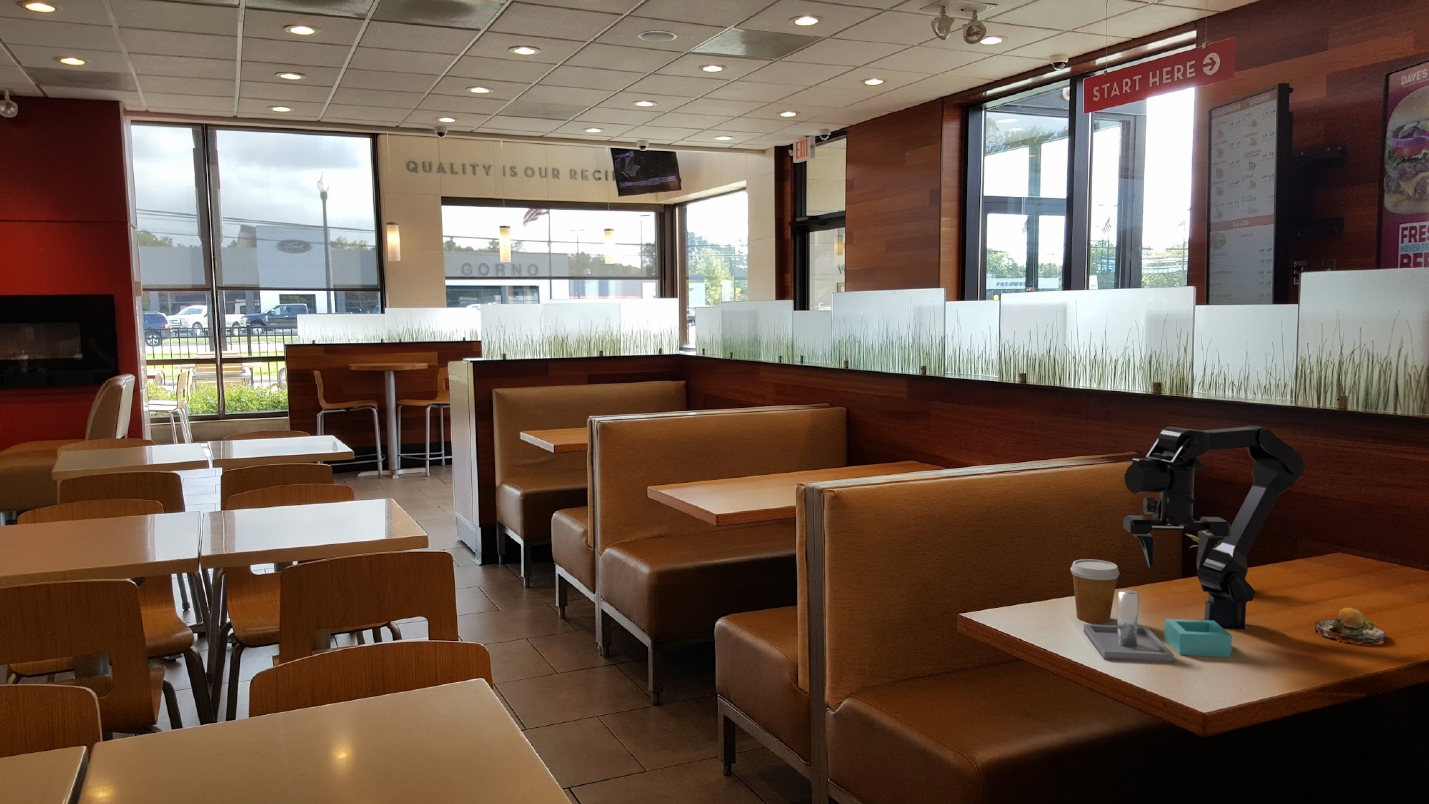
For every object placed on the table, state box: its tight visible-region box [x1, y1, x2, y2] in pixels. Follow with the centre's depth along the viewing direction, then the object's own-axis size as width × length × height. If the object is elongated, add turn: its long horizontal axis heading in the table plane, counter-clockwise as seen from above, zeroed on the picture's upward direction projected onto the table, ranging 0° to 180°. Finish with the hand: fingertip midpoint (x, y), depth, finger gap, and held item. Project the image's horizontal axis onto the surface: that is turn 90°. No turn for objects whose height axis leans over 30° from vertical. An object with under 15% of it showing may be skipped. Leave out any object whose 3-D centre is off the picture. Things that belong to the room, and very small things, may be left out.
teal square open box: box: [1163, 618, 1233, 658], centre depth 184 cm, size 9×9×4 cm
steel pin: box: [1116, 589, 1140, 647], centre depth 184 cm, size 4×4×10 cm
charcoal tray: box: [1083, 623, 1175, 664], centre depth 185 cm, size 12×16×2 cm
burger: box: [1314, 603, 1387, 645], centre depth 192 cm, size 12×12×8 cm
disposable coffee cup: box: [1070, 558, 1120, 625], centre depth 201 cm, size 10×10×12 cm
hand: (1174, 568), depth 194 cm, fingers open, 9 cm apart
